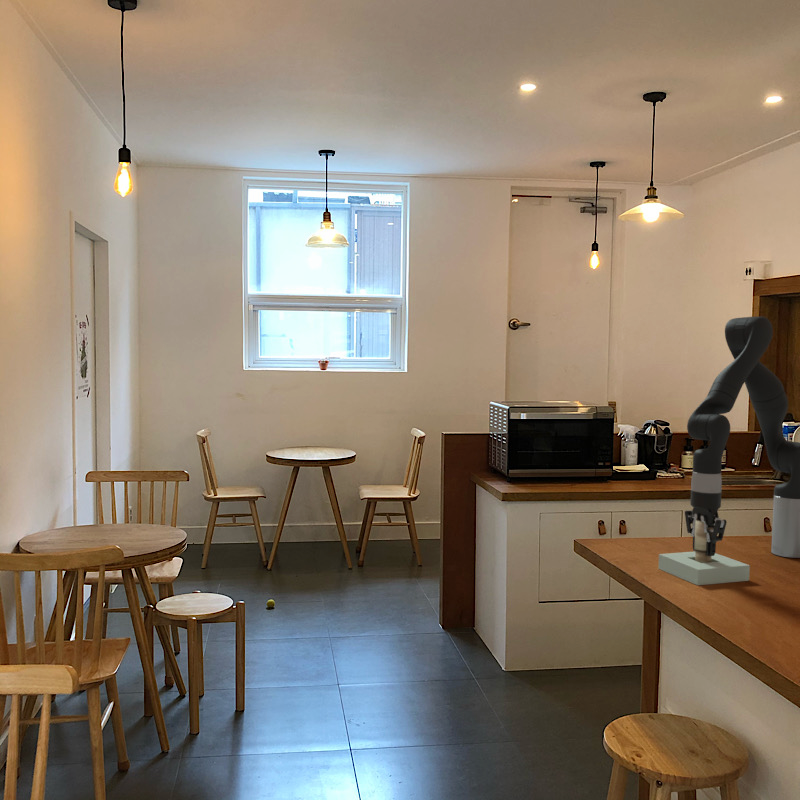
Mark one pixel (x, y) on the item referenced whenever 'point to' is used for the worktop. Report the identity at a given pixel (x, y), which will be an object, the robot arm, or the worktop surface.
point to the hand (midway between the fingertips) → (703, 552)
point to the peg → (701, 543)
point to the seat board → (704, 568)
